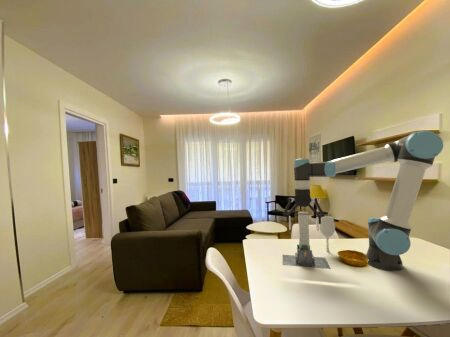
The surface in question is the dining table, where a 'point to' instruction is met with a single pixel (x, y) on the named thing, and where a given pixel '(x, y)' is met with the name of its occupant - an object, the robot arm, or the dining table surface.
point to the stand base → (305, 259)
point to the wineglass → (327, 229)
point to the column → (303, 230)
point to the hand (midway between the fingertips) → (303, 229)
